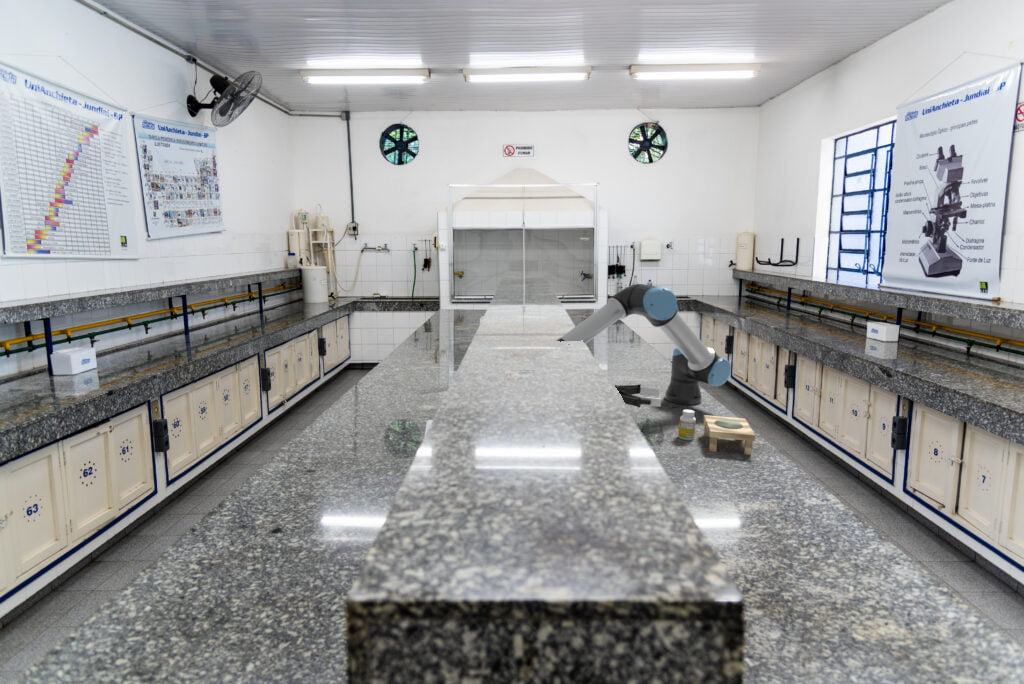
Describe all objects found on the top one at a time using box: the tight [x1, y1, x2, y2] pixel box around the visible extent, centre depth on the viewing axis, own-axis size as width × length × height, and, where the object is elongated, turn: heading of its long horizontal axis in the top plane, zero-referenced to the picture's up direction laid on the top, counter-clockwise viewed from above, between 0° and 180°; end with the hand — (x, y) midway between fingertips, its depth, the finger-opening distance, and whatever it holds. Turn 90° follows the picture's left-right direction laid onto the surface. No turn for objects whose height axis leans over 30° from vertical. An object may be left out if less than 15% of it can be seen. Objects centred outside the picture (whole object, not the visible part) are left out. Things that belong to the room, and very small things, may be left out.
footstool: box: [703, 414, 756, 456], centre depth 209 cm, size 18×14×7 cm
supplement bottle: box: [678, 409, 697, 441], centre depth 214 cm, size 5×5×10 cm
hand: (660, 397), depth 214 cm, fingers open, 13 cm apart
